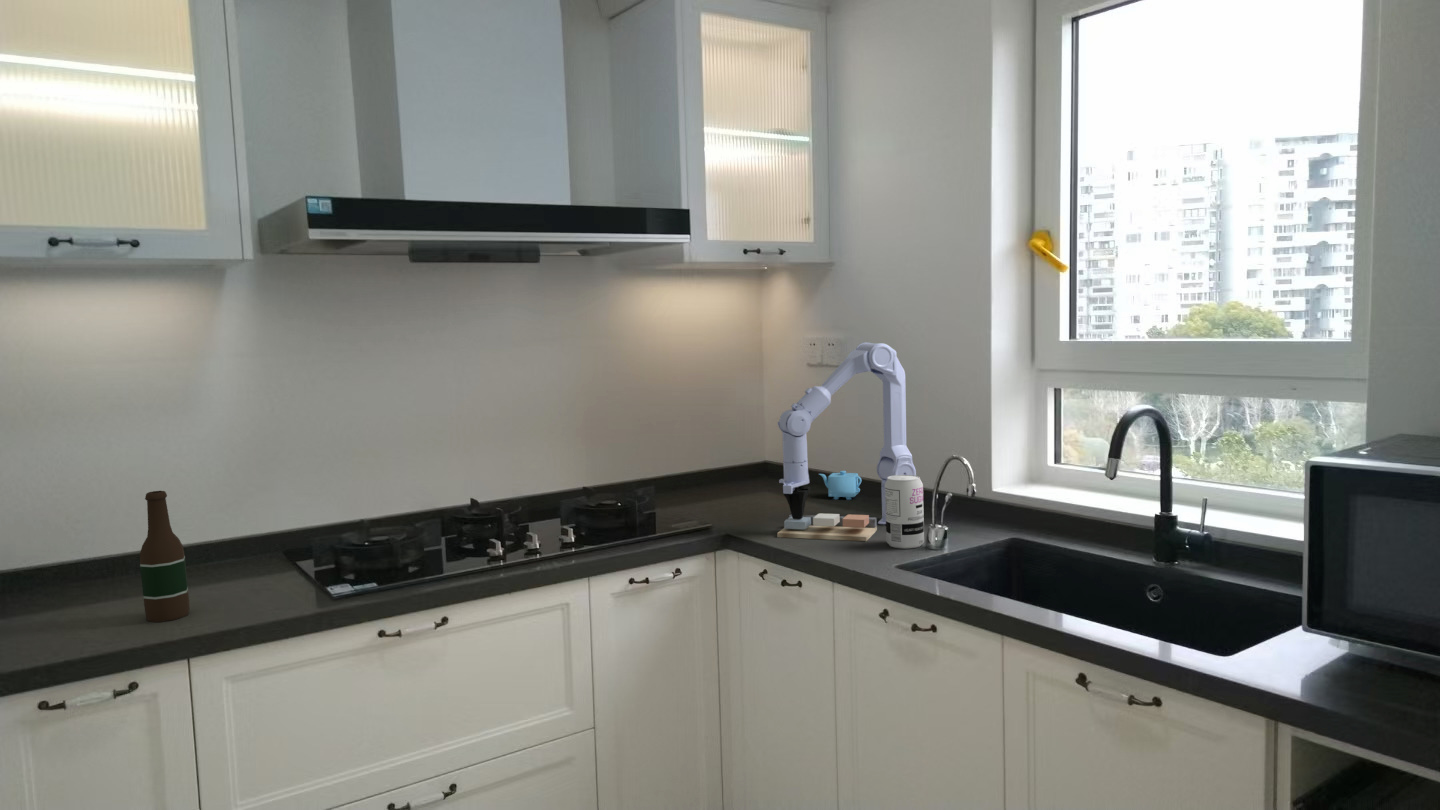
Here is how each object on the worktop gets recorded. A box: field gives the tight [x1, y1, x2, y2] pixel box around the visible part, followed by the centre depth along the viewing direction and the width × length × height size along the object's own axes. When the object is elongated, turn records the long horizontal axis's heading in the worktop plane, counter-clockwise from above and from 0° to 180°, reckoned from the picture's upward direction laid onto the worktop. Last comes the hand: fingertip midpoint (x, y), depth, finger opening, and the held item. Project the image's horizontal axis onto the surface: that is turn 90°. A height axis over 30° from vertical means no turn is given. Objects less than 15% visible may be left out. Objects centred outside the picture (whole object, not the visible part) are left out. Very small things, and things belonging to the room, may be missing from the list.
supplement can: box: [885, 475, 925, 550], centre depth 219 cm, size 8×8×15 cm
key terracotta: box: [843, 513, 870, 528], centre depth 230 cm, size 5×5×2 cm
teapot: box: [818, 470, 863, 501], centre depth 275 cm, size 12×6×8 cm, turn 72°
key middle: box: [813, 512, 840, 526], centre depth 232 cm, size 5×5×2 cm
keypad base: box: [776, 513, 878, 542], centre depth 233 cm, size 21×11×3 cm, turn 69°
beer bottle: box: [139, 490, 190, 623], centre depth 189 cm, size 8×8×24 cm
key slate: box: [783, 517, 811, 530], centre depth 235 cm, size 5×5×2 cm
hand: (797, 518), depth 235 cm, fingers closed
